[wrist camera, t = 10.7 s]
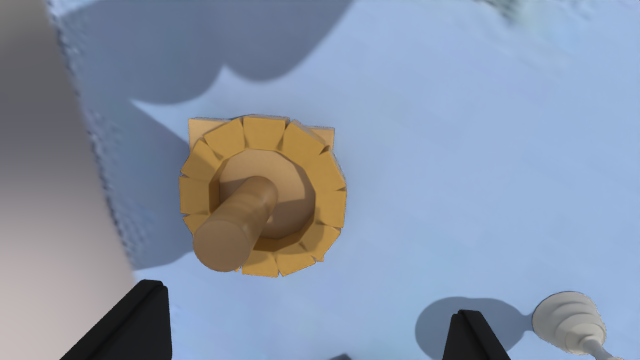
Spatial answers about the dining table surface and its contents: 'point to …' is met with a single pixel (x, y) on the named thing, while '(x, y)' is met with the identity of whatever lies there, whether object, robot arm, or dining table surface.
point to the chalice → (572, 325)
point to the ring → (294, 144)
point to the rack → (253, 201)
